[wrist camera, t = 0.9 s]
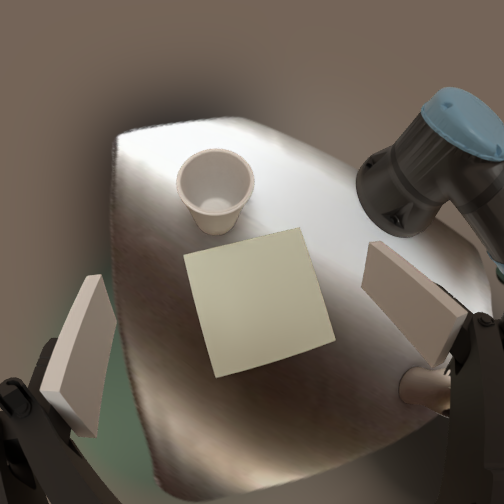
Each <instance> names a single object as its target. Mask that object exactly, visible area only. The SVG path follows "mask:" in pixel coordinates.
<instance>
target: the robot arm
mask: <svg viewBox="0 0 504 504" xmlns="http://www.w3.org/2000/svg"><path fill="white" fill-rule="evenodd" d="M356 187H357V193H358V196H359V199H360V202H361V204H362V206H363V208H364V210H365V211H366V213H367V214H368V216H369V217H370V218H371V219H372V221H373V222H374V223H375V224H376V225H377V226H379V227H380V228H381V229H382V230H384V231H386V232H387V233H389V234H391V235H394V236H397V237H403V238H407V237H413V236H415V235H417V234H419V233H420V232H422V231H424V230H425V229H426V228H427V227H428V226H429V225H430V224H431V222H432V221H433V219H434V218H435V216H436V214H437V213H438V211H439V210H440V208H441V206H442V205H443V204H444V203H446V202H447V201H448V200H451V202H452V203H453V204H454V205H455V206H456V208H457V209H458V210H459V212H460V213H461V214H462V215H463V217H464V218H465V220H466V221H467V222H468V224H469V225H470V226H471V228H472V229H473V230H474V232H475V233H476V235H477V236H478V238H479V239H480V240H481V242H482V243H483V245H484V246H485V248H486V249H487V253H488V255H489V257H490V258H491V259H492V260H493V261H494V262H495V263H496V265H497V266H498V268H499V269H500V271H501V272H502V273H503V274H504V126H503V122H502V121H501V120H500V119H499V117H498V116H497V115H496V114H495V113H494V112H493V111H492V110H491V109H490V108H489V107H488V106H487V105H486V104H485V103H483V102H482V101H481V100H480V99H478V98H477V97H475V96H474V95H472V94H470V93H469V92H466V91H464V90H462V89H459V88H454V87H445V88H442V89H440V90H439V91H438V92H437V93H436V94H435V95H434V96H433V97H432V98H431V99H430V100H429V101H428V102H426V103H425V104H424V105H423V106H422V108H421V112H420V113H419V114H418V116H417V117H416V118H415V119H414V120H413V122H412V123H411V124H410V125H409V126H408V128H407V129H406V130H405V131H404V132H403V134H402V135H401V136H400V137H399V138H398V140H397V141H396V142H395V143H394V144H393V145H392V146H389V147H387V148H385V149H383V150H381V151H379V152H377V153H375V154H373V155H371V156H370V157H369V158H368V159H367V160H366V161H365V162H364V164H363V165H362V166H361V168H360V169H359V171H358V174H357V180H356ZM361 288H362V289H363V290H364V291H365V292H366V293H367V294H368V295H369V296H370V297H371V298H372V299H373V301H374V302H375V303H376V304H377V305H378V306H379V307H380V308H381V309H382V310H383V312H384V313H385V314H386V315H387V316H388V317H389V318H390V319H391V321H392V322H393V323H394V324H395V325H396V326H397V327H398V328H399V330H400V331H401V332H402V333H403V334H404V335H405V337H406V338H407V339H408V340H409V341H410V342H411V343H412V345H413V346H414V347H415V348H416V349H417V351H418V352H419V353H420V354H421V355H422V356H423V358H424V359H425V360H426V361H427V362H428V364H429V365H430V366H431V367H432V368H434V367H436V366H438V365H440V364H442V363H443V362H444V361H445V359H446V357H447V355H448V354H449V352H450V353H451V354H452V356H453V357H452V359H451V361H450V362H449V364H448V366H447V368H446V369H445V371H444V375H446V374H447V372H448V370H450V374H449V375H448V376H450V379H451V387H450V417H449V431H448V442H447V450H446V458H445V464H444V471H443V477H442V482H441V487H440V492H439V496H438V499H437V501H436V502H435V504H504V313H503V315H502V317H501V319H498V320H494V319H493V318H492V317H491V316H489V315H488V314H486V313H483V312H477V313H475V314H473V313H472V312H471V311H469V310H468V309H467V308H466V307H465V306H464V305H463V304H462V303H460V302H459V301H458V300H457V299H456V298H453V296H452V295H451V294H450V293H448V291H446V290H445V289H444V288H443V287H442V286H440V285H438V284H436V283H434V282H433V281H431V280H430V279H429V278H428V277H426V276H425V275H424V274H423V273H421V272H420V271H419V270H418V269H416V268H415V267H414V266H413V265H411V264H410V263H409V262H408V261H406V260H405V259H404V258H402V257H401V256H400V255H399V254H397V253H396V252H395V251H393V250H392V249H391V248H389V247H388V246H387V245H385V244H384V243H383V242H381V241H376V242H369V246H368V252H367V258H366V264H365V270H364V275H363V280H362V285H361ZM116 323H117V321H116V318H115V315H114V312H113V309H112V306H111V304H110V300H109V297H108V294H107V291H106V288H105V285H104V281H103V278H102V275H101V274H100V275H92V276H87V277H86V279H85V281H84V283H83V285H82V287H81V289H80V291H79V293H78V295H77V297H76V299H75V301H74V303H73V306H72V308H71V310H70V312H69V315H68V317H67V319H66V321H65V323H64V326H63V328H62V331H61V333H60V335H59V338H51V339H50V340H49V341H48V342H47V343H46V345H45V346H44V347H43V349H42V352H41V354H40V359H38V362H37V364H36V365H37V367H35V369H34V372H33V375H32V377H31V380H30V383H29V386H28V388H27V387H26V385H25V384H24V383H23V381H22V380H21V379H19V378H9V379H6V380H5V381H3V382H2V383H1V384H0V408H1V409H2V410H3V411H0V504H49V503H48V500H47V498H46V496H47V497H48V499H49V501H50V502H51V504H122V503H121V502H120V501H119V500H118V499H117V498H116V497H115V496H114V494H113V493H112V492H111V491H110V490H109V489H108V487H107V486H106V485H105V484H104V482H103V481H102V480H101V479H100V477H99V476H98V475H97V474H96V472H95V471H94V470H93V468H92V467H91V466H90V464H89V463H88V462H87V460H86V459H85V458H84V456H83V455H82V453H81V452H80V450H79V449H78V448H77V446H76V445H75V443H74V442H73V440H71V438H70V432H71V429H72V430H73V431H74V432H75V433H76V435H77V436H78V437H89V438H97V430H98V422H99V414H100V407H101V400H102V393H103V387H104V381H105V376H106V370H107V365H108V360H109V355H110V350H111V345H112V340H113V336H114V332H115V328H116ZM45 494H46V495H45Z"/></svg>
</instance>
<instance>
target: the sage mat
mask: <svg viewBox="0 0 504 504" xmlns="http://www.w3.org/2000/svg"><path fill="white" fill-rule="evenodd" d="M184 260H185V264H186V269H187V273H188V277H189V281H190V285H191V289H192V294H193V298H194V302H195V305H196V309H197V313H198V317H199V321H200V325H201V328H202V332H203V336H204V339H205V343H206V346H207V350H208V353H209V357H210V360H211V364H212V367H213V370H214V374H215V377H216V378H218V377H222V376H225V375H229V374H233V373H237V372H241V371H244V370H248V369H251V368H255V367H258V366H262V365H265V364H268V363H271V362H275V361H278V360H281V359H284V358H287V357H290V356H293V355H296V354H299V353H302V352H305V351H308V350H311V349H314V348H317V347H319V346H322V345H325V344H327V343H330V342H333V341H335V336H334V333H333V329H332V326H331V323H330V319H329V316H328V313H327V309H326V306H325V303H324V299H323V296H322V293H321V290H320V287H319V284H318V280H317V277H316V274H315V271H314V268H313V265H312V262H311V259H310V256H309V253H308V250H307V247H306V244H305V241H304V238H303V235H302V232H301V230H300V227H299V228H295V229H290V230H286V231H282V232H277V233H273V234H269V235H265V236H261V237H256V238H252V239H248V240H244V241H240V242H235V243H231V244H227V245H223V246H219V247H215V248H210V249H206V250H202V251H198V252H194V253H190V254H186V255H184Z"/></svg>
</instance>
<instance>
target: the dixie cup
mask: <svg viewBox="0 0 504 504" xmlns="http://www.w3.org/2000/svg"><path fill="white" fill-rule="evenodd" d="M176 185H177V191H178V194H179V196H180V198H181V200H182V201H183V202H184V203H185V204H186V205H187V207H188V209H189V211H190V212H191V214H192V216H193V218H194V220H195V222H196V223H197V225H198V227H199V228H200V229H201V230H202V231H203V232H205V233H207V234H209V235H222V234H225V233H227V232H228V231H230V230H231V229H232V227H233V226H234V224H235V222H236V220H237V218H238V216H239V214H240V212H241V210H242V208H243V206H244V204H245V203H246V202H247V201H248V199H249V198H250V196H251V194H252V192H253V189H254V175H253V172H252V169H251V167H250V166H249V164H248V163H247V162H246V161H245V160H244V159H243V158H242V157H241V156H239V155H238V154H236V153H234V152H232V151H229V150H224V149H208V150H204V151H201V152H198V153H196V154H194V155H193V156H191V157H190V158H189V159H187V160H186V161H185V163H184V164H183V165H182V166H181V168H180V170H179V172H178V175H177V182H176Z"/></svg>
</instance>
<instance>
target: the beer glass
mask: <svg viewBox="0 0 504 504" xmlns="http://www.w3.org/2000/svg"><path fill="white" fill-rule="evenodd" d="M445 369H446V368H443V369H438V370H428V369H425V368H423V367H413V368H411V369H409V370H408V371H407V372H406V373H405V374H404V376H403V377H402V379H401V382H400V385H399V395H400V398H401V400H402V401H403V402H404V403H406V404H410V405H413V404H419V405H423V406H425V407H427V408H429V409H431V410H432V411H434V412H436V413H438V414H440V415H443V416H445V417H448V418H449V417H450V387H451V379H450V376H448V375H449V374H450V370H448V372H447V374H446V375H444V371H445Z"/></svg>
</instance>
